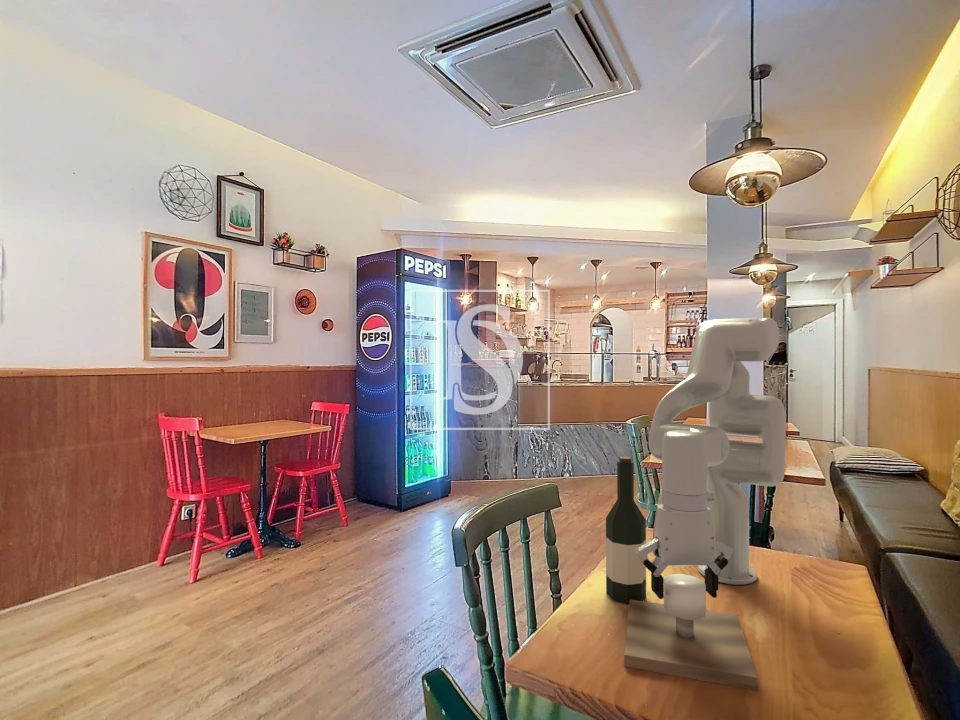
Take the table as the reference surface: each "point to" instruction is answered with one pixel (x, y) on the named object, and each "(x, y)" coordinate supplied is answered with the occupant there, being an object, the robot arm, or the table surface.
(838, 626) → the table surface
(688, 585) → the light bulb
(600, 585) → the table surface
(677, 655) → the post board
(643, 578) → the wine bottle
